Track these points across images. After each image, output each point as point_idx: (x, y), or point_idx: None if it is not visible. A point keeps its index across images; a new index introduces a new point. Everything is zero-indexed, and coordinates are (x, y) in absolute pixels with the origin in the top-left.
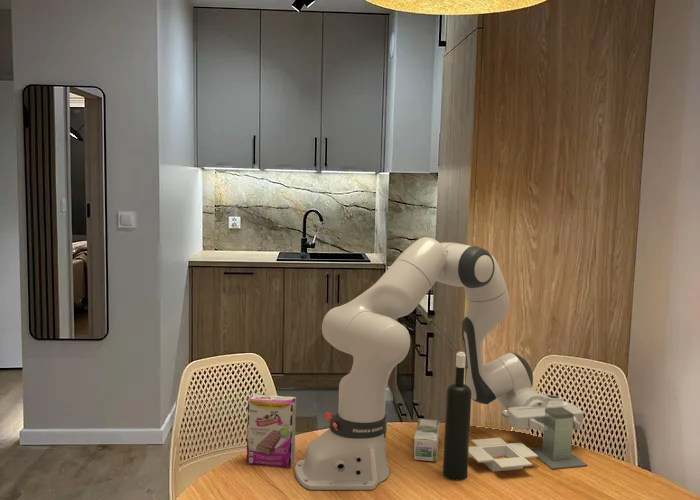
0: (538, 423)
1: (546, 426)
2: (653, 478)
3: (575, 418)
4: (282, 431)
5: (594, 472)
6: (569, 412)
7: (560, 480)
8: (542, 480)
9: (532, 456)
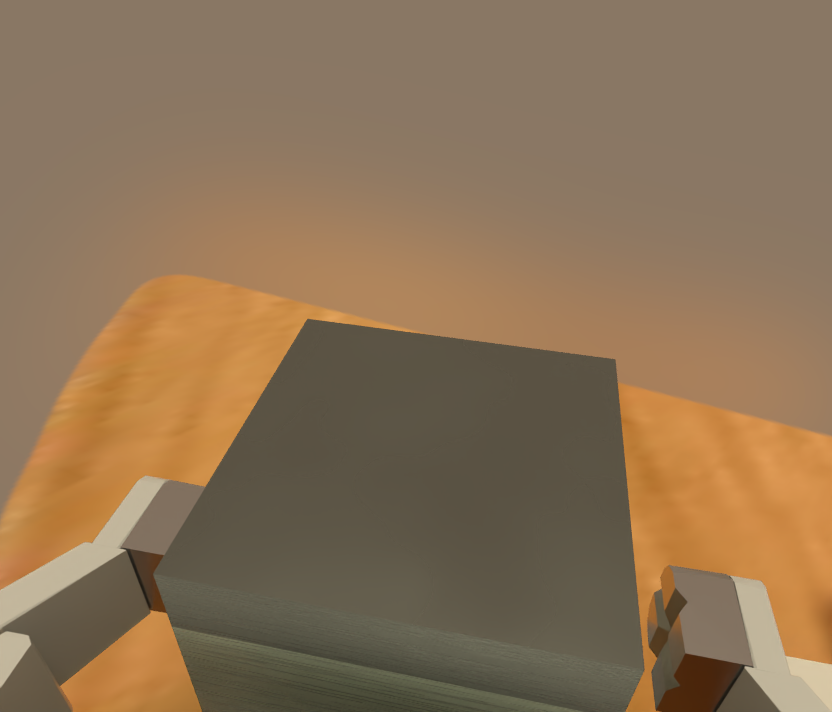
0: (796, 679)
1: (683, 570)
2: (115, 359)
3: (15, 592)
4: None
5: None
6: (310, 360)
7: (631, 497)
8: (758, 535)
9: (816, 663)
